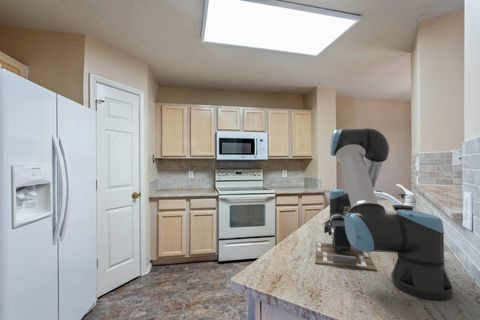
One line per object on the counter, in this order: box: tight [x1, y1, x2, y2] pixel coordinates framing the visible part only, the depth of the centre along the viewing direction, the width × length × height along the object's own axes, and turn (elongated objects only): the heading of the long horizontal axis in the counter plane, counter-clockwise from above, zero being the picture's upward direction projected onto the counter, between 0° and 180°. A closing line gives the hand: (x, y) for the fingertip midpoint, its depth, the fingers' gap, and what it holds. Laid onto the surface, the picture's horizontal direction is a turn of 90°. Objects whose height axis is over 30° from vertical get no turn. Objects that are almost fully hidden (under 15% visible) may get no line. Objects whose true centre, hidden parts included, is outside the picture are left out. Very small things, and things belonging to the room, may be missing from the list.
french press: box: [392, 193, 415, 215], centre depth 118 cm, size 12×9×23 cm
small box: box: [331, 220, 351, 251], centre depth 104 cm, size 11×6×10 cm, turn 164°
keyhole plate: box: [314, 242, 377, 272], centre depth 100 cm, size 24×21×4 cm
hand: (342, 236), depth 99 cm, fingers closed on small box, 6 cm apart
